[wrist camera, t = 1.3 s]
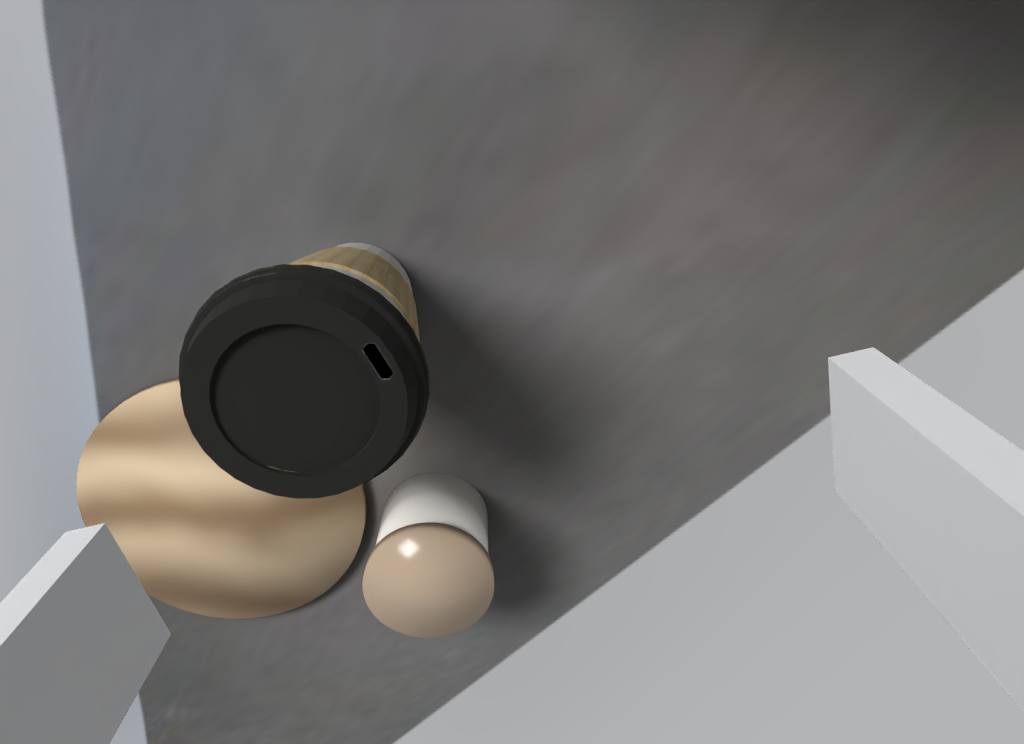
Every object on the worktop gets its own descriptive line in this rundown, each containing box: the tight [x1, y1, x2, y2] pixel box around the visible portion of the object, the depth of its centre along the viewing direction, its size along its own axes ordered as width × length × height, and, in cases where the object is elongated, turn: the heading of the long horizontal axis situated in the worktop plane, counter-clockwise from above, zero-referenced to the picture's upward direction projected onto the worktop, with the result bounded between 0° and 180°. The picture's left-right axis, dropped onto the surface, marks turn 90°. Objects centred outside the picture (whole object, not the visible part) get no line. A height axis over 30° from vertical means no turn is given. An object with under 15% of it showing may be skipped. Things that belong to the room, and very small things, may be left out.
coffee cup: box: [179, 243, 429, 499], centre depth 32 cm, size 10×10×15 cm
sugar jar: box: [363, 473, 494, 638], centre depth 42 cm, size 8×8×7 cm
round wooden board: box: [76, 378, 367, 619], centre depth 44 cm, size 18×18×1 cm
